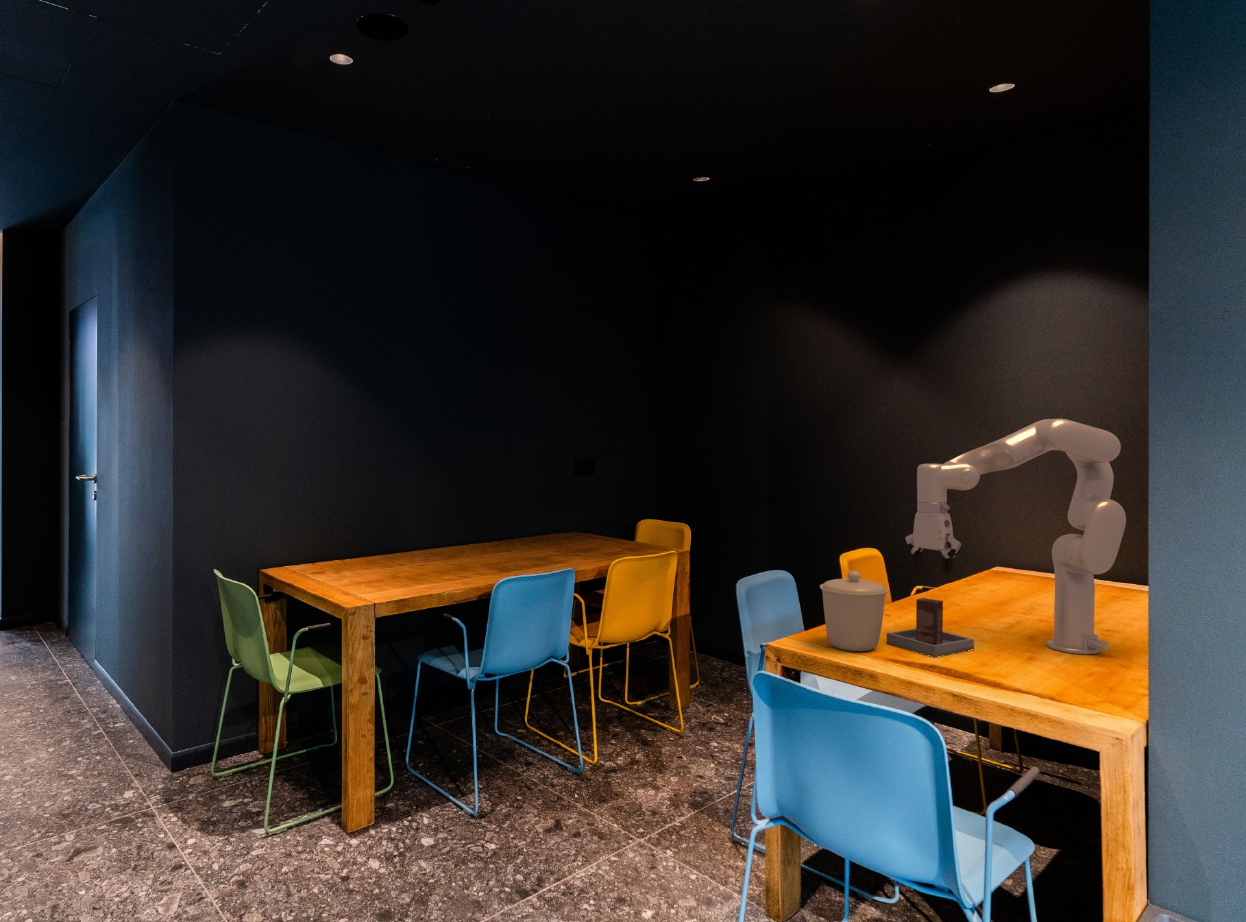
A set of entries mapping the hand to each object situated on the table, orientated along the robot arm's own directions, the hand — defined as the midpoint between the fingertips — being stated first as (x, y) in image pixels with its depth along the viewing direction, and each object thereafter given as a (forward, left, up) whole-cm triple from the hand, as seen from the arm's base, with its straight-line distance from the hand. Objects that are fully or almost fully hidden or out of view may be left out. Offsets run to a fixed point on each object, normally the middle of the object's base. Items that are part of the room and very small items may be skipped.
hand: (932, 569), depth 209 cm
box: (+1, 0, -21) cm, 21 cm away
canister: (+10, +19, -22) cm, 31 cm away
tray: (0, 0, -21) cm, 21 cm away
